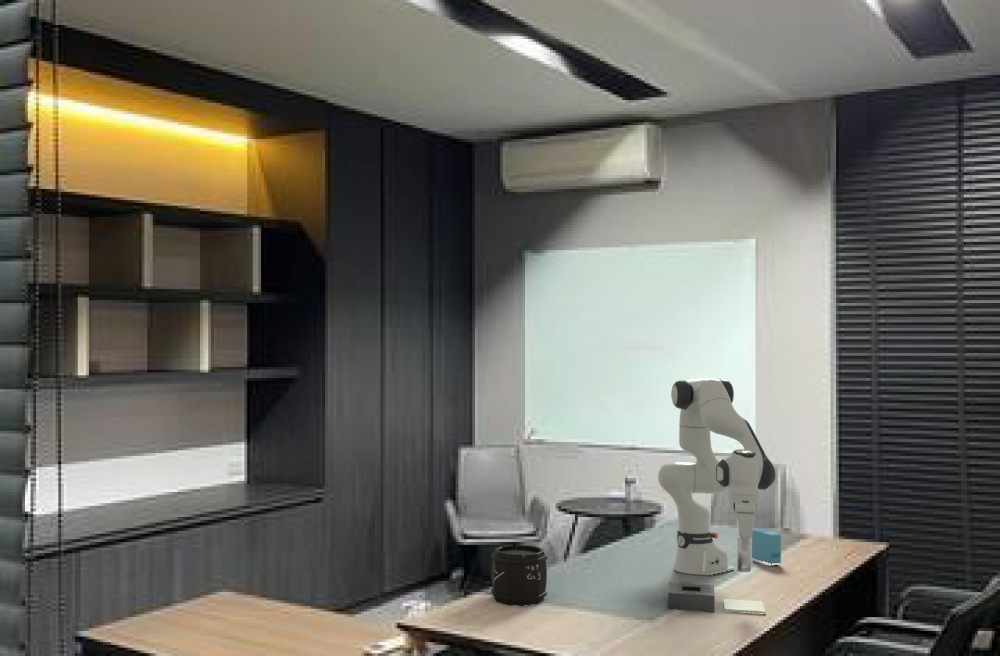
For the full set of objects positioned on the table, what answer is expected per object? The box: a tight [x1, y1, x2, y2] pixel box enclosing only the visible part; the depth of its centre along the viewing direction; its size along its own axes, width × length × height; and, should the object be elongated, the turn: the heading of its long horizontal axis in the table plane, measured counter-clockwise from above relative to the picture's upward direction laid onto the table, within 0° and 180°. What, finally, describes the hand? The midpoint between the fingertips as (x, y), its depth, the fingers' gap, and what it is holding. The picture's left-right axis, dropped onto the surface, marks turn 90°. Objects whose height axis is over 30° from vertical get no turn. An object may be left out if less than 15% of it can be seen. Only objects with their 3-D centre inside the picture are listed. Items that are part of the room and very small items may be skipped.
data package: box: [751, 528, 782, 564], centre depth 352 cm, size 12×4×12 cm, turn 21°
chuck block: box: [667, 581, 716, 613], centre depth 291 cm, size 14×14×5 cm
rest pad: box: [723, 598, 766, 614], centre depth 288 cm, size 12×12×1 cm
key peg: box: [736, 536, 752, 573], centre depth 288 cm, size 4×4×10 cm
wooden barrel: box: [490, 544, 548, 607], centre depth 295 cm, size 18×18×16 cm
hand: (744, 547), depth 288 cm, fingers closed on key peg, 4 cm apart
